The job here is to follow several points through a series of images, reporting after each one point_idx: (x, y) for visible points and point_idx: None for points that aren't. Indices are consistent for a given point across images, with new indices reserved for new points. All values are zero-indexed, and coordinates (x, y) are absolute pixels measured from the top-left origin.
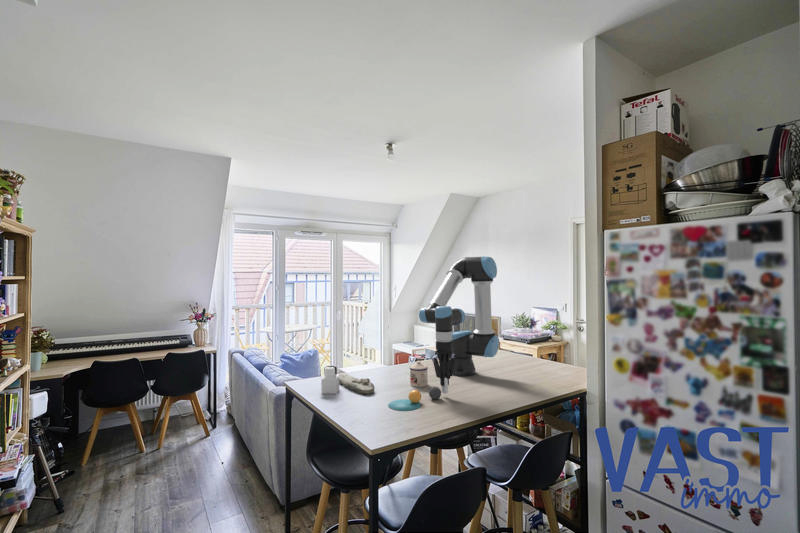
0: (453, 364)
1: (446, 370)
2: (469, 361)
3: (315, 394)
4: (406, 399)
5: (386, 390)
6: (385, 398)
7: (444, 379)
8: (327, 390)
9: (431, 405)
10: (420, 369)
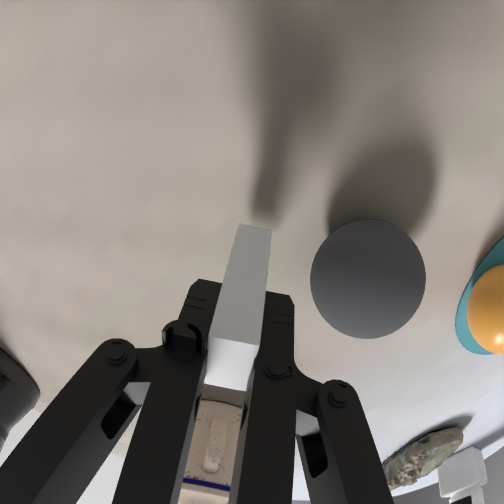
0: (16, 482)
1: (182, 459)
2: None
3: (487, 449)
4: (461, 340)
5: (378, 434)
6: (471, 386)
7: (258, 348)
8: (479, 456)
9: (485, 176)
10: (223, 491)
